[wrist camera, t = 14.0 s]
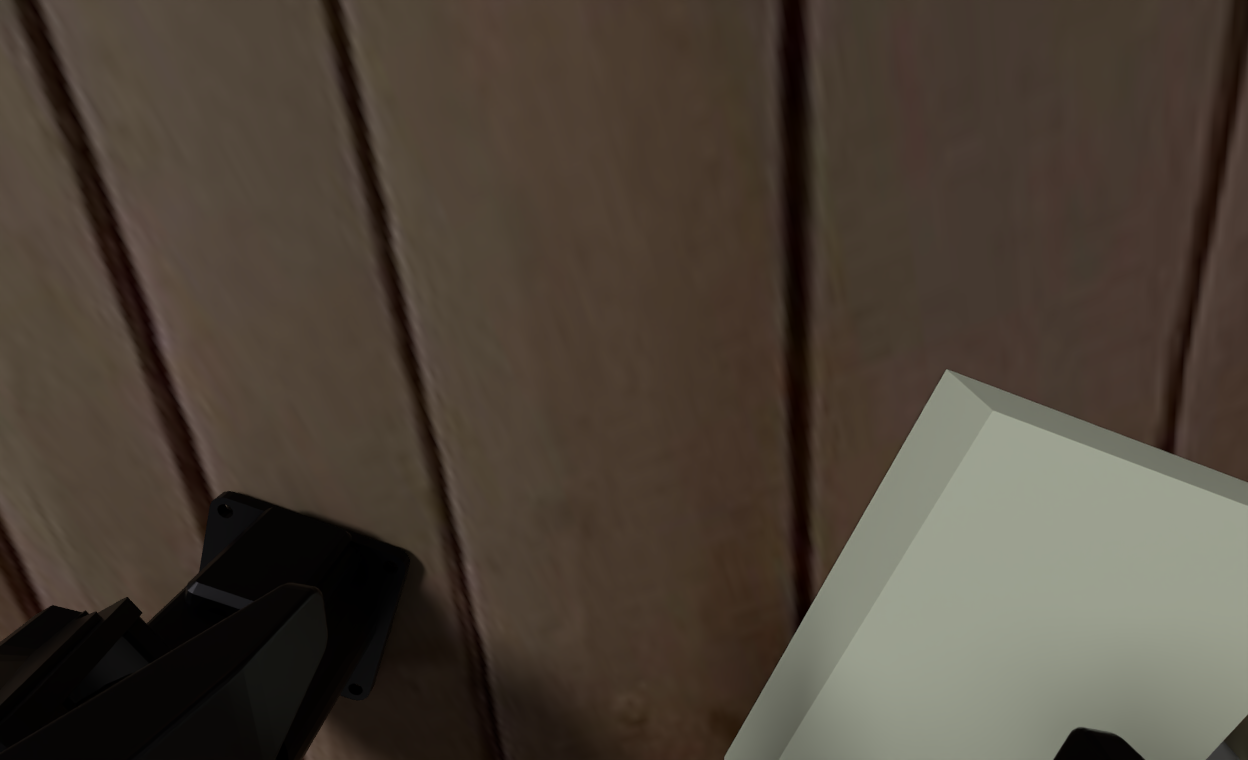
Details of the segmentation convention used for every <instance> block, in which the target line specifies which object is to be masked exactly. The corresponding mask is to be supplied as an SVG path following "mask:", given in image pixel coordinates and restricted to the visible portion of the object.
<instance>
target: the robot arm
mask: <svg viewBox="0 0 1248 760" xmlns="http://www.w3.org/2000/svg"><path fill="white" fill-rule="evenodd" d="M225 505H228V506H230V507H231V509H232V510H233V511H230V510H229V509H227V507H226V506H225ZM388 561H393V562H394V563H396V564H397V566H398V567H395V566H392V565H390V564H389V562H388ZM409 565H410V559H409V557H408V555H407V554H406V553H405V552H404V551H403V550H401V549H399V548H397V547H394V546H391V545H388V544H385V543H382V542H379V541H376V540H373V539H370V538H367V537H364V536H361V535H359V534H356V533H353V532H350V531H347V530H344V529H341V528H338V527H335V526H332V525H329V524H326V523H324V522H321V521H318V520H315V519H312V518H309V517H306V516H303V515H300V514H297V513H294V512H291V511H288V510H286V509H283V508H280V507H277V506H274V505H271V504H268V503H265V502H262V501H259V500H256V499H253V498H251V497H248V496H245V495H242V494H239V493H236V492H231V491H227V492H223V493H222V494H221V495H219V496H218V497H217V498H216V499H214V500H213V501H212V503H211V505H210V509H209V515H208V521H207V528H206V534H205V540H204V546H203V552H202V558H201V564H200V571H199V573H198V574H197V575H196V576H195V577H194V578H193V579H192V580H191V581H190V582H189V583H188V584H187V586H186V587H185V588H184V589H183V590H182V591H181V592H179V593H178V594H177V595H176V596H175V597H174V598H173V599H172V600H171V601H170V602H169V603H168V604H167V605H166V606H165V607H164V608H163V609H161V610H160V611H159V612H158V613H157V614H156V615H155V616H154V617H153V618H152V619H151V620H150V621H149V622H148V623H147V624H146V623H145V622H144V621H143V619H142V618H141V617H140V615H141V614H142V612H141V611H140V610H139V609H138V608H137V607H136V605H135V604H134V603H133V602H132V601H131V600H130V599H129V598H128V597H126V598H124V599H122V600H120V601H118V602H116V603H115V604H113V605H111V606H109V607H107V608H106V609H104V610H102V611H100V612H98V613H97V612H93V613H91V614H89V613H88V612H87V611H86V610H85V611H83V612H78V611H74V610H70V609H66V608H62V607H58V606H54V605H52V606H50V607H49V608H47V609H45V610H43V611H42V612H40V613H38V614H36V615H35V616H34V617H32V618H31V619H30V620H28V621H27V622H26V623H25V624H23V625H22V626H21V627H19V628H18V629H17V630H15V631H14V632H13V633H11V634H10V635H9V636H8V637H6V638H5V639H4V640H2V641H1V642H0V760H302V759H303V757H304V755H305V754H306V752H307V750H308V749H309V747H310V745H311V743H312V742H313V740H314V738H315V737H316V735H317V733H318V731H319V730H320V728H321V726H322V725H323V723H324V721H325V720H326V718H327V716H328V714H329V713H330V711H331V709H332V708H333V706H334V704H335V702H336V701H337V699H338V697H339V696H344V697H347V698H350V699H353V700H363V699H365V698H367V697H368V695H369V693H370V691H371V690H372V688H373V686H374V683H375V680H376V676H377V673H378V669H379V666H380V663H381V659H382V656H383V653H384V649H385V646H386V643H387V639H388V636H389V633H390V629H391V626H392V622H393V619H394V616H395V612H396V609H397V606H398V602H399V599H400V596H401V592H402V589H403V586H404V582H405V579H406V575H407V572H408V569H409ZM356 684H358V685H360V686H358V685H356ZM1053 760H1145V759H1144V758H1143V757H1142V756H1141V755H1140V754H1139V753H1138V752H1137V751H1136V750H1135V749H1134V748H1133V747H1131V746H1130V745H1129V744H1128V743H1127V742H1126V741H1125V740H1124V739H1123V738H1121V737H1120V736H1118V735H1116V734H1114V733H1112V732H1108V731H1103V730H1097V729H1092V728H1086V727H1078V728H1076V729H1074V730H1072V731H1071V732H1070V734H1069V735H1068V737H1067V738H1066V740H1065V742H1064V743H1063V745H1062V746H1061V748H1060V749H1059V751H1058V753H1057V754H1056V756H1055V757H1054V759H1053Z"/></svg>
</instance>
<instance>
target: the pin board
mask: <svg viewBox="0 0 1248 760" xmlns="http://www.w3.org/2000/svg"><path fill="white" fill-rule="evenodd" d="M1247 715H1248V483H1247V482H1245V481H1242V480H1239V479H1237V478H1234V477H1231V476H1229V475H1226V474H1223V473H1221V472H1218V471H1216V470H1213V469H1210V468H1208V467H1205V466H1202V465H1200V464H1197V463H1194V462H1192V461H1189V460H1186V459H1184V458H1181V457H1178V456H1176V455H1173V454H1170V453H1168V452H1165V451H1162V450H1160V449H1157V448H1155V447H1152V446H1149V445H1147V444H1144V443H1141V442H1139V441H1136V440H1133V439H1131V438H1128V437H1125V436H1123V435H1120V434H1117V433H1115V432H1112V431H1109V430H1107V429H1104V428H1101V427H1099V426H1096V425H1094V424H1091V423H1088V422H1086V421H1083V420H1080V419H1078V418H1075V417H1072V416H1070V415H1067V414H1064V413H1062V412H1059V411H1056V410H1054V409H1051V408H1048V407H1046V406H1043V405H1040V404H1038V403H1035V402H1033V401H1030V400H1027V399H1025V398H1022V397H1019V396H1017V395H1014V394H1011V393H1009V392H1006V391H1003V390H1001V389H998V388H995V387H993V386H990V385H987V384H985V383H982V382H979V381H977V380H974V379H972V378H969V377H966V376H964V375H961V374H958V373H956V372H953V371H950V370H948V369H946V371H945V373H944V375H943V376H942V378H941V380H940V381H939V383H938V385H937V387H936V388H935V390H934V392H933V394H932V395H931V397H930V399H929V401H928V402H927V404H926V406H925V408H924V409H923V411H922V413H921V415H920V416H919V418H918V420H917V422H916V423H915V425H914V427H913V429H912V430H911V432H910V434H909V436H908V437H907V439H906V441H905V443H904V444H903V446H902V448H901V450H900V451H899V453H898V455H897V457H896V458H895V460H894V462H893V464H892V465H891V467H890V469H889V471H888V472H887V474H886V476H885V478H884V479H883V481H882V483H881V484H880V486H879V488H878V490H877V491H876V493H875V495H874V497H873V498H872V500H871V502H870V504H869V505H868V507H867V509H866V511H865V512H864V514H863V516H862V518H861V519H860V521H859V523H858V525H857V526H856V528H855V530H854V532H853V533H852V535H851V537H850V539H849V540H848V542H847V544H846V546H845V547H844V549H843V551H842V553H841V554H840V556H839V558H838V560H837V561H836V563H835V565H834V567H833V568H832V570H831V572H830V574H829V575H828V577H827V579H826V581H825V582H824V584H823V586H822V588H821V589H820V591H819V593H818V594H817V596H816V598H815V600H814V601H813V603H812V605H811V607H810V608H809V610H808V612H807V614H806V615H805V617H804V619H803V621H802V622H801V624H800V626H799V628H798V629H797V631H796V633H795V635H794V636H793V638H792V640H791V642H790V643H789V645H788V647H787V649H786V650H785V652H784V654H783V656H782V657H781V659H780V661H779V663H778V664H777V666H776V668H775V670H774V671H773V673H772V675H771V677H770V678H769V680H768V682H767V684H766V685H765V687H764V689H763V691H762V692H761V694H760V696H759V698H758V699H757V701H756V703H755V704H754V706H753V708H752V710H751V711H750V713H749V715H748V717H747V718H746V720H745V722H744V724H743V725H742V727H741V729H740V731H739V732H738V734H737V736H736V738H735V739H734V741H733V743H732V745H731V746H730V748H729V750H728V752H727V753H726V755H725V757H724V760H1053V759H1054V757H1055V756H1056V754H1057V753H1058V751H1059V749H1060V748H1061V746H1062V745H1063V743H1064V742H1065V740H1066V738H1067V737H1068V735H1069V734H1070V732H1071V731H1072V730H1074V729H1076V728H1078V727H1086V728H1092V729H1097V730H1103V731H1108V732H1112V733H1114V734H1116V735H1118V736H1120V737H1121V738H1123V739H1124V740H1125V741H1126V742H1127V743H1128V744H1129V745H1130V746H1131V747H1133V748H1134V749H1135V750H1136V751H1137V752H1138V753H1139V754H1140V755H1141V756H1142V757H1143V758H1144V759H1145V760H1240V759H1239V757H1238V756H1237V755H1236V754H1235V753H1234V752H1233V751H1232V750H1231V748H1230V747H1229V746H1228V745H1227V744H1226V743H1225V742H1224V739H1225V738H1226V737H1227V736H1228V735H1229V734H1230V733H1231V732H1232V731H1233V730H1234V729H1235V728H1236V727H1237V726H1238V724H1239V723H1240V722H1241V721H1242V720H1243V719H1244V718H1245V717H1246V716H1247Z"/></svg>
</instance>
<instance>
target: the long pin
mask: <svg viewBox="0 0 1248 760" xmlns="http://www.w3.org/2000/svg"><path fill="white" fill-rule="evenodd" d="M1224 742H1225V743H1226V744H1227V745H1228V746H1229V747H1230V748H1231V750H1232V751H1233V752H1234V753H1235V754H1236V755H1237V756H1238V757H1239V759H1240V760H1248V715H1247V716H1246V717H1245V718H1244V719H1243V720H1242V721H1241V722H1240V723H1239V724H1238V726H1237V727H1236V728H1235V729H1234V730H1233V731H1232V732H1231V733H1230V734H1229V735H1228V736H1227V737H1226V738H1225V739H1224Z"/></svg>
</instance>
